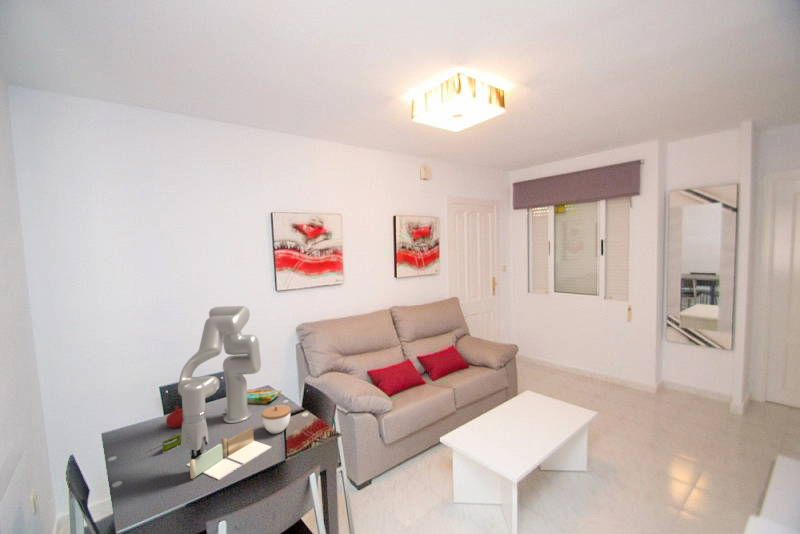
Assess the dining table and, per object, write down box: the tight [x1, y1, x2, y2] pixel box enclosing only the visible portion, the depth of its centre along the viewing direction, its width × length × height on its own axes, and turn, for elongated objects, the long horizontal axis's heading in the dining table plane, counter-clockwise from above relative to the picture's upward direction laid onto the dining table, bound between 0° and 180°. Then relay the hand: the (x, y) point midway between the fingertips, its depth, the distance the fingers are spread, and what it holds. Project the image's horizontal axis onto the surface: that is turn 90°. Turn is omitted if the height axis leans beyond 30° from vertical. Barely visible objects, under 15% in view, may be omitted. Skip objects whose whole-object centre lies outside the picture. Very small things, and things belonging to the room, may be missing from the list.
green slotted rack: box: [145, 432, 182, 454], centre depth 149 cm, size 7×19×10 cm
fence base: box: [220, 427, 255, 458], centre depth 147 cm, size 2×14×8 cm, turn 152°
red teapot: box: [165, 405, 183, 429], centre depth 171 cm, size 10×10×9 cm
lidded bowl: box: [261, 404, 291, 435], centre depth 164 cm, size 13×13×11 cm
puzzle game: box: [247, 388, 282, 405], centre depth 198 cm, size 12×5×20 cm
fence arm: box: [189, 443, 223, 480], centre depth 134 cm, size 2×13×6 cm, turn 159°
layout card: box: [186, 440, 272, 481], centre depth 143 cm, size 20×24×1 cm
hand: (196, 463), depth 133 cm, fingers closed
